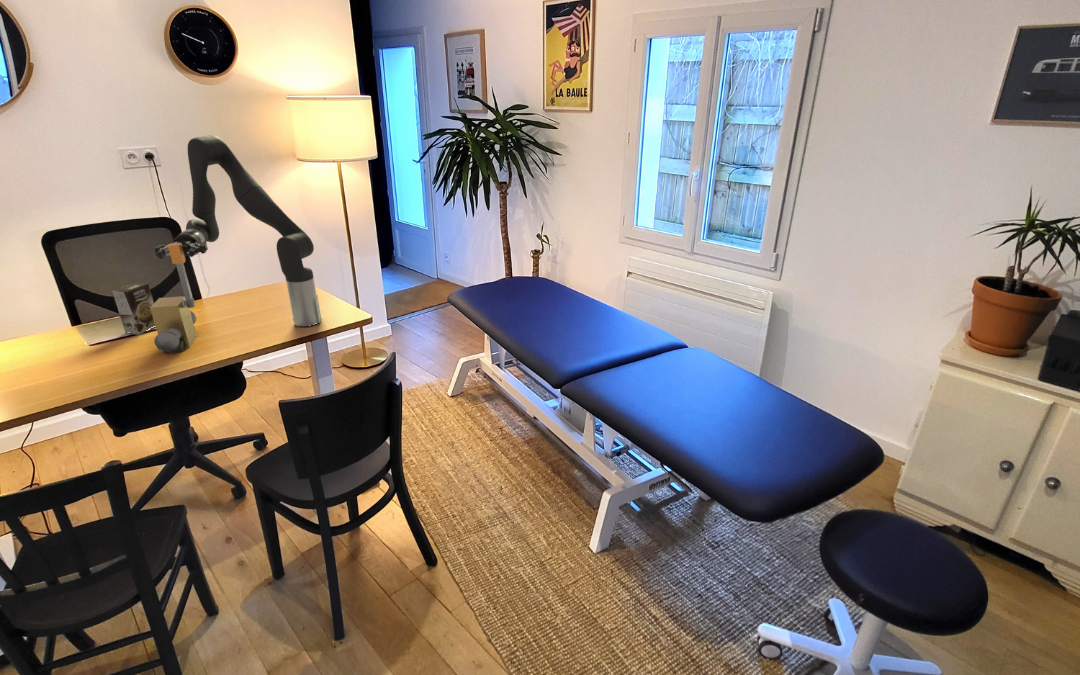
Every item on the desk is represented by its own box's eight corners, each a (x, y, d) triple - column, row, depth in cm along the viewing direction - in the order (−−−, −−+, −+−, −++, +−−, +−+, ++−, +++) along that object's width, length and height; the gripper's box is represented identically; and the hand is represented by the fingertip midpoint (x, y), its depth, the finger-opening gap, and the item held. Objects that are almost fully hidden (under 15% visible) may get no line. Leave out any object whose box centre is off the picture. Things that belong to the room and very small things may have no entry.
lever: (197, 305, 187) (181, 242, 178) (195, 308, 184) (178, 245, 175) (187, 306, 186) (170, 243, 177) (185, 309, 183) (167, 245, 174)
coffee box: (140, 335, 194) (126, 291, 187) (124, 333, 195) (110, 290, 188) (161, 325, 202) (148, 283, 195) (146, 323, 203) (133, 281, 196)
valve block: (204, 329, 199) (193, 288, 192) (187, 354, 180) (174, 310, 174) (176, 331, 197) (164, 290, 190) (156, 357, 178) (142, 313, 172)
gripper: (163, 232, 186) (146, 244, 172) (210, 230, 190) (197, 242, 176) (169, 253, 190) (153, 267, 175) (215, 251, 193) (203, 264, 179)
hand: (175, 254), depth 176 cm, fingers open, 8 cm apart
